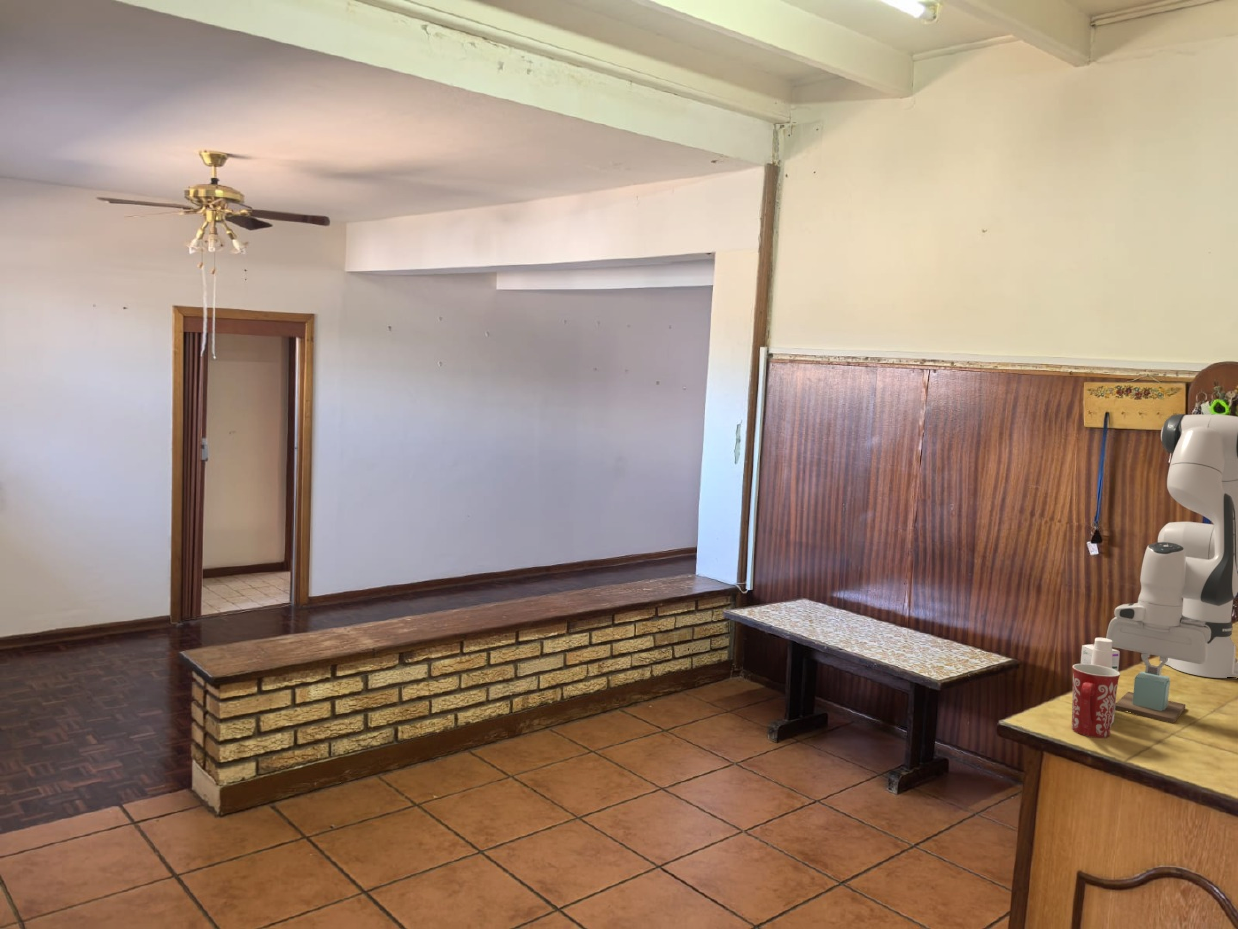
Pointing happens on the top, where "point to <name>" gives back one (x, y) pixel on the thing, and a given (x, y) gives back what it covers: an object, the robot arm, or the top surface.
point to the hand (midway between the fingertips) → (1152, 674)
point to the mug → (1093, 699)
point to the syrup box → (1087, 656)
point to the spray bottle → (1103, 656)
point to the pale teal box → (1151, 691)
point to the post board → (1165, 715)
